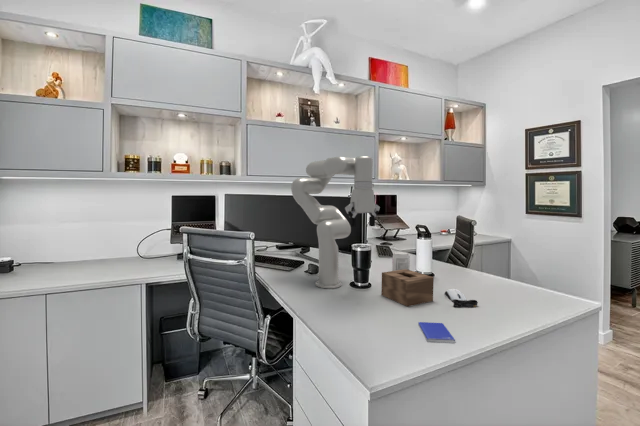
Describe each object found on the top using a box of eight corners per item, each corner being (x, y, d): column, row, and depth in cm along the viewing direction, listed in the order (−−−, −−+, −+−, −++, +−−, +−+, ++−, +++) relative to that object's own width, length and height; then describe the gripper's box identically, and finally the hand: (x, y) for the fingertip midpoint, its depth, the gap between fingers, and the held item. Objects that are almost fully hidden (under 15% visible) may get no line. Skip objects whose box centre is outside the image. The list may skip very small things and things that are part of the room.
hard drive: (455, 339, 94) (443, 322, 106) (427, 338, 95) (418, 321, 107) (455, 344, 94) (443, 327, 106) (427, 343, 95) (418, 326, 107)
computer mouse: (458, 294, 142) (459, 285, 141) (480, 308, 123) (480, 298, 123) (436, 294, 141) (436, 285, 141) (454, 308, 123) (455, 298, 123)
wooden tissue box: (381, 295, 138) (381, 272, 138) (405, 290, 145) (406, 269, 144) (407, 306, 124) (408, 281, 124) (433, 301, 131) (433, 277, 130)
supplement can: (388, 282, 158) (389, 252, 157) (398, 279, 164) (398, 250, 163) (402, 286, 152) (403, 255, 151) (412, 283, 158) (412, 253, 157)
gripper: (374, 186, 141) (373, 225, 142) (341, 186, 132) (340, 226, 133) (385, 186, 134) (384, 226, 135) (350, 185, 126) (350, 228, 127)
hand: (362, 226), depth 134 cm, fingers open, 9 cm apart
